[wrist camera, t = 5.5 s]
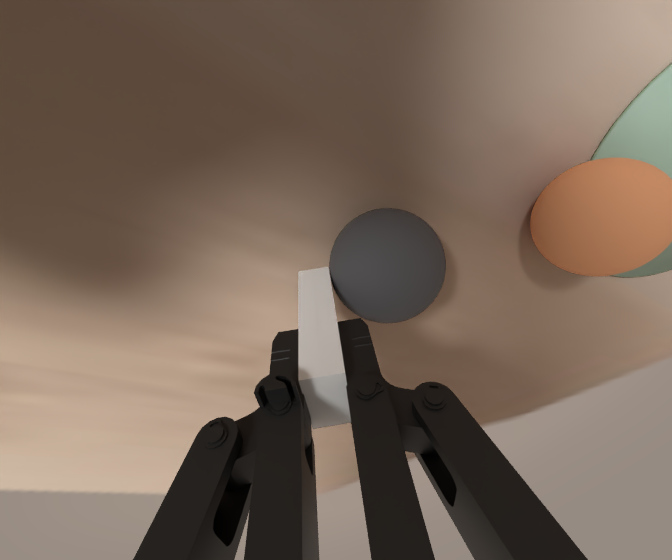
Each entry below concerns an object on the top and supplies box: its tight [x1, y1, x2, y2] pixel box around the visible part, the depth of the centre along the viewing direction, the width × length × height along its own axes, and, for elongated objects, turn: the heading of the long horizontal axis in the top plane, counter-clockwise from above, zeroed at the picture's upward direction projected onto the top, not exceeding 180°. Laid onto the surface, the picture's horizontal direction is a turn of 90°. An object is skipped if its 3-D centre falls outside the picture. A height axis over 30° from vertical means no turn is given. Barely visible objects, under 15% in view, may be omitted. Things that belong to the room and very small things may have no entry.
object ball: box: [530, 158, 672, 276], centre depth 15 cm, size 6×6×6 cm
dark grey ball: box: [329, 208, 446, 323], centre depth 15 cm, size 6×6×6 cm
